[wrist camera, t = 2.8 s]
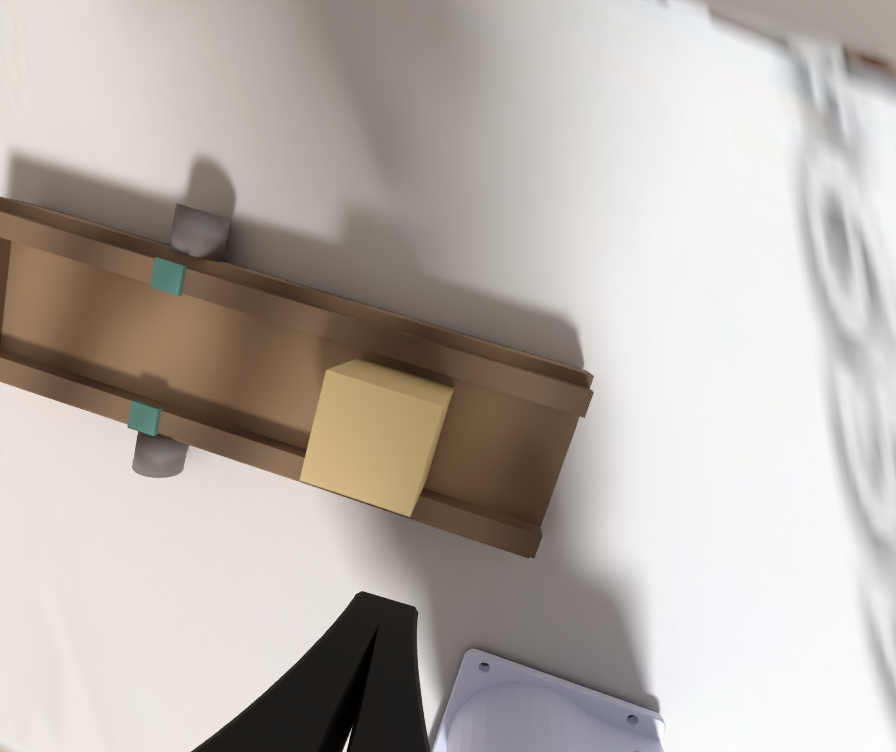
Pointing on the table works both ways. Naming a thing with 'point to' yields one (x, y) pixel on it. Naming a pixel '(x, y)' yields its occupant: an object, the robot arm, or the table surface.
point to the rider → (375, 434)
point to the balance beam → (266, 365)
